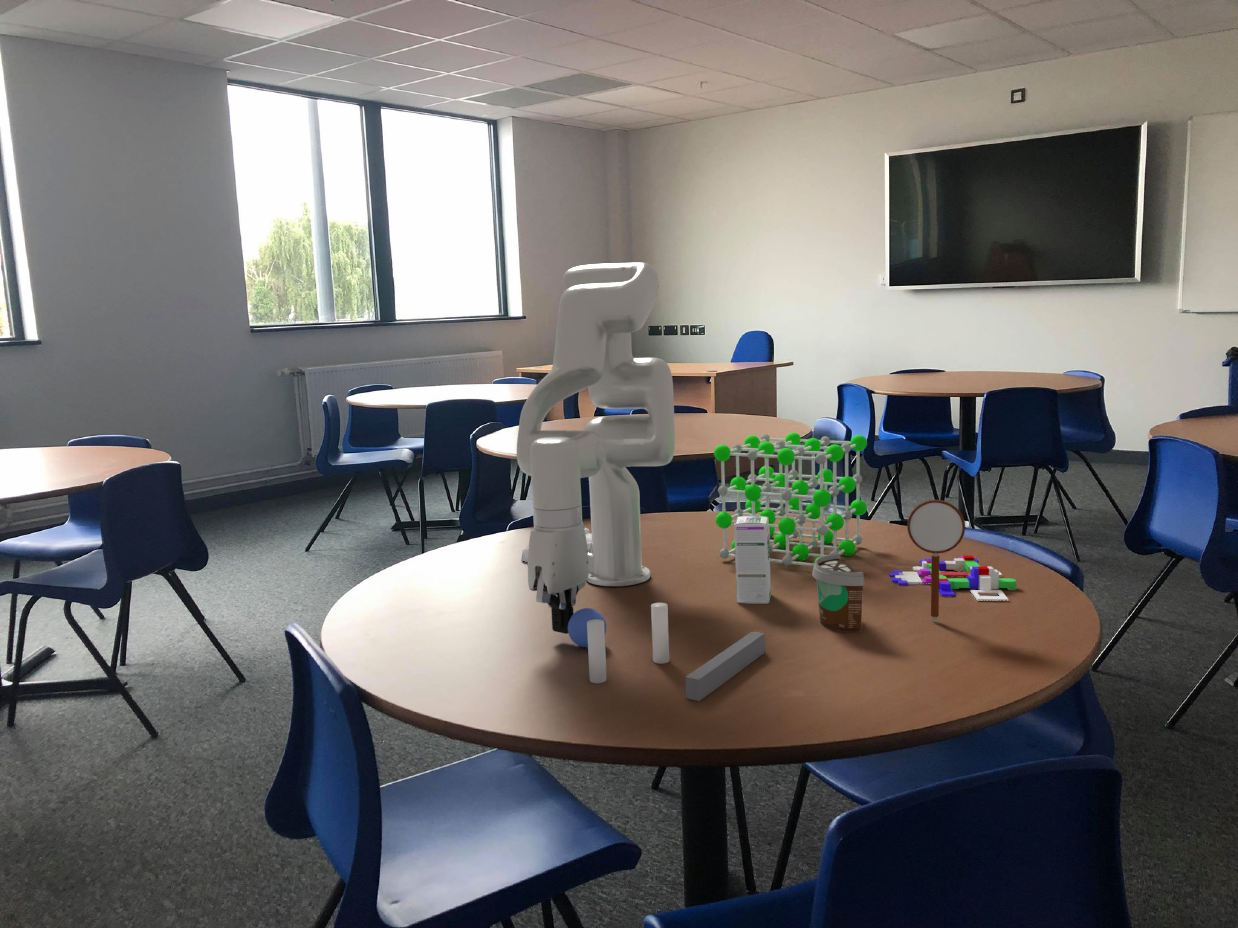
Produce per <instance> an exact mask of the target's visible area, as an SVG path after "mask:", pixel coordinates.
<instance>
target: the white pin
mask: <svg viewBox="0 0 1238 928" xmlns="http://www.w3.org/2000/svg"><path fill="white" fill-rule="evenodd" d="M668 608H669V607H668V603H665V602H654V603H651V604H650V609H651V610H650V611H651V612H650V613H651V614H650V615H651V637H652V638H651V639H652V661H653V663H655V664H661V665H663V664H668V663H669V662H670V645H669V644H670V643H669V637H670V636H669V616H668V615H669V611H668Z"/></svg>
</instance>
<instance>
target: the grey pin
mask: <svg viewBox="0 0 1238 928" xmlns="http://www.w3.org/2000/svg"><path fill="white" fill-rule="evenodd" d="M587 635H588V647H587V650H588V656H587V657H588V672H589V676H588V677H589V682H590V683H592V684H603V683H605V682H607V681H608V680H607V678H608V677H607V659H606V658H607V656H606V634H605V631H604V621H603V620H599V619H594V620H590V621H588V622H587Z"/></svg>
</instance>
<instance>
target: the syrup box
mask: <svg viewBox="0 0 1238 928" xmlns="http://www.w3.org/2000/svg"><path fill="white" fill-rule="evenodd" d="M734 521H735V523H733V528H734V533H733V534H734V539H735V552H734V554H735V557H734V559H735V561H734V563H735V582H736V583H735V585H736V586H735V587H736V588H735V589H736V590H735V591H736V603H740V604H754V605H755V604H756V605H757V604H759V605H760V604H765V605H766V604H767V605H768V604H769V603H770V599H771V594H772V591H771V589H772V587H771V586H772V585H771V581H772V580H771V561H770V559H771V553H770V549H769V521H768V517H766V516H741V517H737V518H735V520H734Z"/></svg>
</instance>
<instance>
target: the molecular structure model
mask: <svg viewBox="0 0 1238 928" xmlns="http://www.w3.org/2000/svg"><path fill="white" fill-rule="evenodd" d="M760 436H761V437H760V438H759V437H758V436H756V435H754V434H753V435H752V434H751V435H748V436H746V437H745V439H744V441H743V442H744V443H743V444H744V445H741V444H739V443H734V444H733V445H732V448H731V449H730V447H729V446H728V445H726V444H719V445H717V446H716V447H715V449H714V450H713V456H714V458H715V459H716V460H717V461H719V462H720V469H721V471H720V473H721V474H720V475H721V476H720V477H721V485H720V486H719V487H718V489H717V492H718V494H719V495H720V496H721V503H722V504H721V505H722V507H721V510H722V511H720V512H719V513H718V514H717V515H716V516H715V524H716V526H717V527H718V528H721V529H722V543H723V544H722V545H723V547H722V548H721V549H720V550H719V552H718V553H719V557H720V558H721V559H727V558H729V557H730V558H735V538H734V539H733V541H732V542H731V549H730V550H729V549H727V528H730V527H731V525H732V524H735V521H736V520H733V519H737V517H741V516H766V517H768V521H769V549H770V554H771V553H780V554H785V555H784V556H783V557H782V559H777V558H770V563H772V562H773V563H781V564H783V565H784V566H786V567H789V566H791V565H799V566H806V567H814V564H815V563H816V560H817V559H818V558H820V557H823V556H827V555H832V554H840V555H843V556H845V557H851V556H852V555H854V554H855V552H856V550H857V546H858V545H861V543H862V542H863V538H862V536H861V533H860V529H861V528H860V525H861V523H860V522H861V519H860V518H861V516H863V515H864V514H866V512H867V509H868V507H867V506H868V505H867V503H866V502H865V501H864V500H863V499H861V497H860V496H861V493H860V492H861V491H860V490H861V489H860V487H861V486H860V485H861V484H860V483H862V482H863V477H862V475H861V474H860V473H861V471H860V470H861V468H860V465H861V464H860V462H861V461H860V458H861V457H860V452H861V451H864V450H865V449H866V448H867V446H868V440H867V438H866V437H865V436H864V435H862V434H856V435H854V436H853V437H852V438H850V441H849V440H831V439H830V437H828V436H827V435H826V436H825V435H824V436H822V437H821V439H818V438H815V437H811V438H807V439H806V438H805V439H804V438H801V436H800V434H799V433H797V432H793V431H792V432H790V433H788V434H787V435H786V436H785V438H780V437H779V438H775V437H770V435H769V434H767V433H764V434H762V435H760ZM774 441H775V443H772V442H774ZM802 443H804V444H802ZM801 444H802V445H801ZM830 444H831V445H830ZM839 444H840V445H839ZM851 449H852V450H853V451H856V455H855V456H856V459H855V460H856V473H855V474H853V476H849V452H850V451H851ZM821 450H823V451H821ZM742 451H743V453H742ZM744 452H747V453H744ZM775 453H777V454H775ZM804 455H811V456H804ZM731 456H732V457H735V468H736V471H735V475H736V477H734V478H732V479H731V481H730V486H729V487H727V486H726V483H725V480H726V477H725V476H726V475H725V462H726V461H728V460H729V459H730V457H731ZM740 457H747V458H748V460H750V474H749V475H748V477H747V480H746V479H745V478H744V477H742V476H740ZM758 458H764V465H763V466H762V467H761V468H760V469H759V471H758V475H756V474H755V460H757V459H758ZM770 458H771V459H777V461H778V463H779V465H778V467H779V468H778V469H779V470H778V471H779V472H775V470H774V468H773V467H772V466H769V463H770V462H769V461H770V460H769V459H770ZM843 458H844V476H837V462H839V461H841V460H842V459H843ZM796 460H798V471H797V470H796ZM803 460H807V461H811V474H803ZM828 460H829V461H830V462H832V470H831V469H828ZM816 463H817V464H818V465H819V472H818V473H817V475H816V465H815V464H816ZM790 465H791V470H789V466H790ZM783 466H784V473H783ZM797 478H798V480H797ZM803 478H805V479H806V478H809V480H803ZM837 480H839V481H838V482H837ZM757 481H764V483H762V485H758V484H755V483H757ZM770 482H772V483H770ZM749 483H750V484H749ZM790 484H791V487H789V485H790ZM818 486H819V489H816V488H817V487H818ZM828 486H830V487H829V488H828ZM855 489H856V499H855V500H853V501H852V502H851V503H850V505H849V494H850V493H852V492H854V490H855ZM772 490H774V491H779V493H778V492H771V491H772ZM840 492H842V493H844V494H845V495H844V504H845V505H838V503H837V500H838V499H837V498H838V497H837V496H838V495H839V493H840ZM728 493H732V494H736V509H735V510H734V511H733V512H734V513H733V515H731V514H730V513H729V512H727V511H726V495H727V494H728ZM808 493H811V495H807V494H808ZM741 494H744V496H745V498H746V499H747V500H746V502H745V509H741ZM762 496H763V497H762ZM761 497H762V499H761ZM771 497H779V500H776V499H775V500H774V499H773V500H772V499H771ZM832 498H833V499H832ZM759 499H761V502H760V500H759ZM803 499H807V500H808V499H809V500H810V499H811V503H810V502H803ZM832 500H833V501H832ZM831 501H832V502H833V504H831ZM770 504H779V506H778V507H777V508H775V507H770ZM784 505H785V506H784ZM763 506H765V507H763ZM803 506H806V507H805V510H803ZM831 508H832V509H833V513H832V512H828V511H829V510H830V509H831ZM837 509H841V510H843V509H844V510H843V512H842V513H838V512H837ZM759 512H760V513H759ZM758 513H759V514H758ZM790 513H792V516H791V517H790ZM796 514H798V515H797V516H796ZM853 515H855V516H856V535H854V536H853V537H852V538H849V530H850V529H849V526H850V525H849V521H850V520H851V519H852V517H853ZM819 518H820V519H819ZM776 520H779V521H778V524H776V523H775V522H776ZM806 522H808V523H812V527H808V526H807V527H806V526H804V524H805V523H806ZM774 523H775V524H774ZM817 523H818V524H820V525H818V526H817V528H816V524H817ZM797 524H798V526H797ZM843 527H844V529H845V533H844V534H845V536H844V537H843V538H842V537H838V534H837V533H838V531H839V530H841V529H842V528H843ZM775 528H778V531H776V529H775ZM798 530H799V531H798ZM803 531H809V532H812V534H804V532H803ZM816 532H817V535H816ZM772 537H774V539H771V538H772ZM798 537H799V542H794V541H791V539H797V538H798ZM804 538H809V539H811V538H812V539H811V540H809V542H808V543H804V541H803V539H804ZM816 539H818V540H816ZM838 541H840V543H839V545H838ZM771 543H773V545H772V544H771ZM832 543H833V545H830V544H832ZM791 545H793V546H794V547H793V548H792V550H790V546H791ZM776 548H777V549H776ZM818 548H819V549H820V553H814V552H813V553H811V552H810V550H816V549H818ZM825 549H829V550H830V549H831V550H832V551H830V552H829V554H825ZM791 555H792V556H791ZM809 557H816V558H815V559H814V561H813V563H811V562H803V561H806V560H807V559H808V558H809ZM795 560H797V561H795Z"/></svg>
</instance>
